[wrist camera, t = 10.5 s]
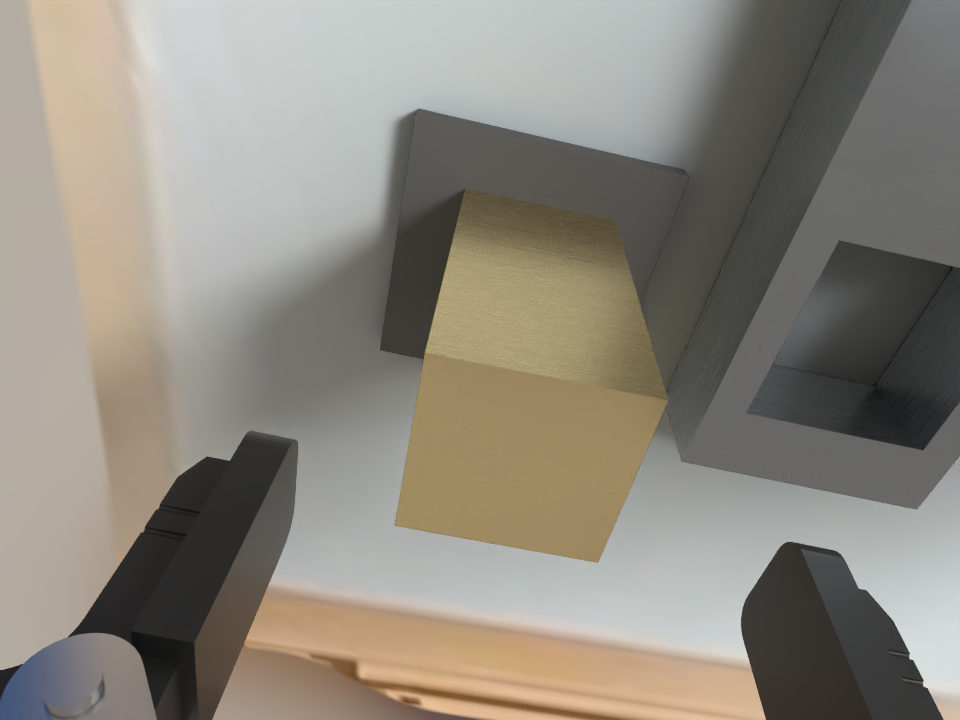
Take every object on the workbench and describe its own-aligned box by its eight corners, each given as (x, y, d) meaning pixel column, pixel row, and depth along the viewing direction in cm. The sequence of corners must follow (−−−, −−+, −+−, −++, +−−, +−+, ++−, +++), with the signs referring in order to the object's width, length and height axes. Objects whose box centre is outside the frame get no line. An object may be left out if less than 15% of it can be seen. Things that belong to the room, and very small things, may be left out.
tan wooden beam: (615, 219, 18) (668, 400, 11) (574, 347, 20) (598, 562, 13) (465, 188, 17) (425, 352, 11) (440, 320, 20) (394, 525, 13)
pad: (684, 170, 17) (688, 177, 17) (602, 385, 21) (604, 397, 21) (418, 108, 17) (415, 114, 16) (383, 339, 21) (380, 350, 20)
